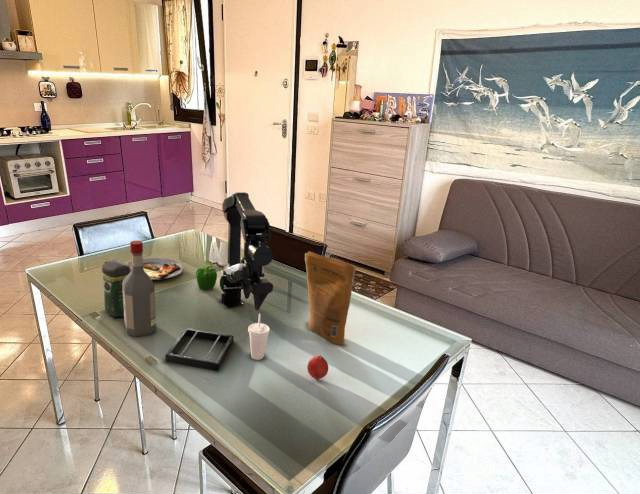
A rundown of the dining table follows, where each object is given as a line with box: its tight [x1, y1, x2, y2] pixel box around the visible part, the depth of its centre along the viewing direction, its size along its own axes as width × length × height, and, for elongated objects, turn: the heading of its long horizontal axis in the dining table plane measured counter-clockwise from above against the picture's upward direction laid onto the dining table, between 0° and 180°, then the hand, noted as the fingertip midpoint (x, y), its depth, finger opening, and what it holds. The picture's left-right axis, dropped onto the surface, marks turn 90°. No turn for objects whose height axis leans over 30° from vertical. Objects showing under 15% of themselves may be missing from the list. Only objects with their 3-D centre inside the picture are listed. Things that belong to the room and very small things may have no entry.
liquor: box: [122, 240, 157, 338], centre depth 138 cm, size 9×9×30 cm
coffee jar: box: [101, 259, 130, 318], centre depth 150 cm, size 10×8×19 cm
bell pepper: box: [195, 264, 218, 292], centre depth 174 cm, size 8×8×10 cm
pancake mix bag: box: [304, 251, 357, 346], centre depth 141 cm, size 7×19×28 cm, turn 37°
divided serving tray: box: [164, 327, 235, 372], centre depth 132 cm, size 16×16×2 cm
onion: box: [306, 354, 329, 381], centre depth 121 cm, size 6×6×8 cm
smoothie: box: [247, 313, 271, 361], centre depth 129 cm, size 6×6×14 cm
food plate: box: [126, 257, 185, 281], centre depth 187 cm, size 25×23×4 cm
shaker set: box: [208, 240, 228, 268], centre depth 198 cm, size 12×4×11 cm, turn 43°
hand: (251, 304), depth 135 cm, fingers open, 9 cm apart
